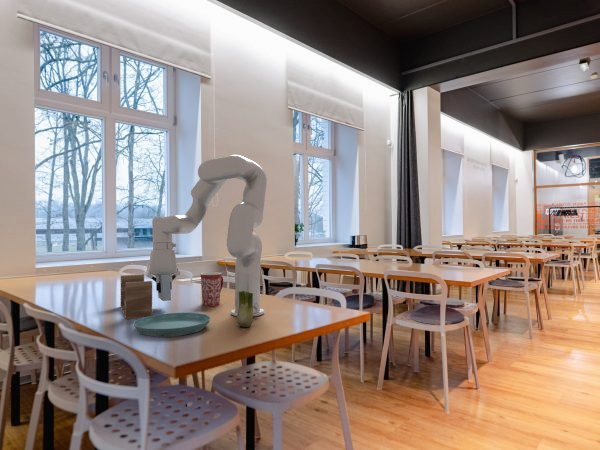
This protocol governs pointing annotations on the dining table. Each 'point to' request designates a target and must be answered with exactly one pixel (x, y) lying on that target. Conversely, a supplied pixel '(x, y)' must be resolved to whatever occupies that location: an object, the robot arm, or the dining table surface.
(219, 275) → the mug
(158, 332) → the teal plate
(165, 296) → the door panel
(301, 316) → the dining table surface
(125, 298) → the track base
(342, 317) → the dining table surface
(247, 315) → the fennel bulb
